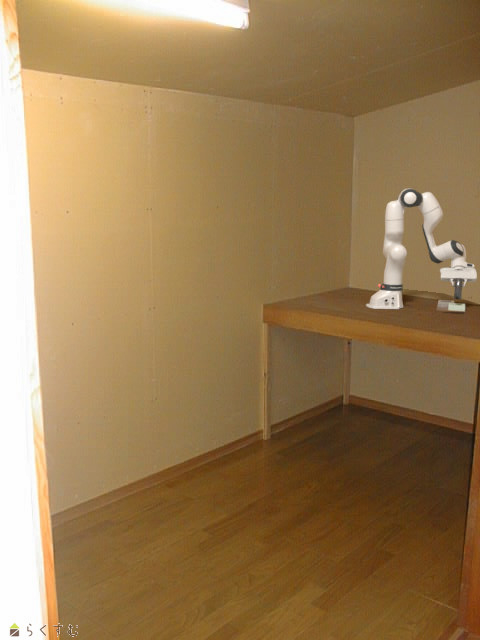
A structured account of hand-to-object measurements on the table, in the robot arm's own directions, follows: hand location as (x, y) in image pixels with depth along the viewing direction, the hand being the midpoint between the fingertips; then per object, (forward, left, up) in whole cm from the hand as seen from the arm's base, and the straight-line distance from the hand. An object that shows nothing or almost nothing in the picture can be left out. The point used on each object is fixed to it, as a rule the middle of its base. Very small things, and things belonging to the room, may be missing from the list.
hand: (458, 286), depth 344 cm
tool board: (0, +6, -15) cm, 17 cm away
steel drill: (0, +1, -7) cm, 7 cm away
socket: (0, +12, -14) cm, 18 cm away
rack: (0, +1, -14) cm, 14 cm away
